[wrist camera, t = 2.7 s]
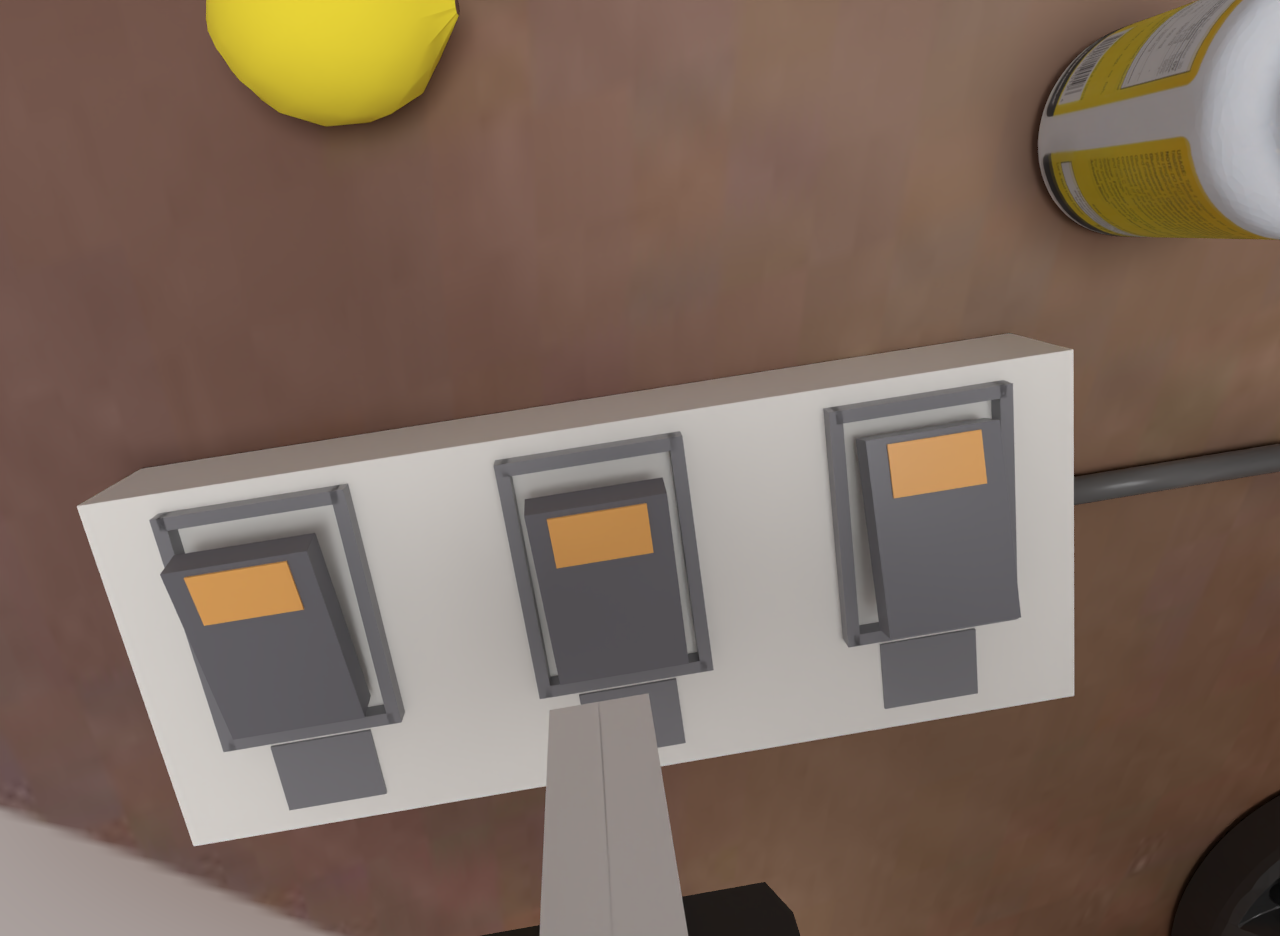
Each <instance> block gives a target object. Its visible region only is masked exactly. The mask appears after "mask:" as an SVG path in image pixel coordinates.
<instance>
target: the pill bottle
mask: <svg viewBox="0 0 1280 936" xmlns="http://www.w3.org/2000/svg"><path fill="white" fill-rule="evenodd" d="M1038 156H1039V164H1040V169H1041V173H1042V177H1043V180H1044V183H1045V185H1046V187H1047V189H1048V192H1049V193H1050V195H1051V197H1052V199H1053V200H1054V201H1055V203H1056V204H1057V205H1058V207H1059V208H1060V209H1061V210H1062V211H1063V212H1064V213H1065V214H1066V215H1067V216H1068V217H1069V218H1071V219H1072V220H1073V221H1075V222H1076V223H1078V224H1079V225H1081V226H1083V227H1085V228H1087V229H1089V230H1092V231H1095V232H1099V233H1102V234H1106V235H1113V236H1126V237H1175V238H1224V239H1272V240H1280V0H1197V1H1195V2H1192V3H1189V4H1187V5H1184V6H1181V7H1179V8H1176V9H1173V10H1170V11H1168V12H1165V13H1162V14H1159V15H1157V16H1154V17H1151V18H1148V19H1145V20H1142V21H1140V22H1137V23H1134V24H1131V25H1129V26H1126V27H1123V28H1121V29H1118V30H1116V31H1114V32H1112V33H1109V34H1108V35H1106V36H1104V37H1102V38H1101V39H1099V40H1097V41H1096V42H1095V43H1093V44H1092V45H1090V46H1089V47H1088V48H1086V49H1085V50H1084V51H1083V52H1082V53H1080V54H1079V55H1078V56H1077V57H1076V58H1075V59H1074V60H1073V61H1072V63H1071V64H1070V65H1069V66H1068V67H1067V68H1066V70H1065V71H1064V72H1063V74H1062V75H1061V76H1060V78H1059V80H1058V81H1057V83H1056V84H1055V86H1054V88H1053V90H1052V91H1051V93H1050V95H1049V98H1048V100H1047V103H1046V105H1045V108H1044V111H1043V115H1042V118H1041V123H1040V129H1039V136H1038Z"/></svg>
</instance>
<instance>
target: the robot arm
mask: <svg viewBox="0 0 1280 936" xmlns="http://www.w3.org/2000/svg"><path fill="white" fill-rule="evenodd" d="M482 936H800V933H799V930H798V927H797V924H796V920H795V917H794V914H793V912H792V911H791V910H790V909H789V908H788V907H787V905H786V904H785V903H784V902H783V901H782V900H781V899H780V898H779V897H778V896H777V895H776V894H775V892H774V891H773V890H772V889H771V888H770V887H769V886H768V885H767V884H766V883H765V882H763V883H757V884H751V885H746V886H740V887H735V888H729V889H723V890H718V891H712V892H707V893H701V894H695V895H690V896H684V897H682V894H681V888H680V882H679V876H678V870H677V864H676V858H675V851H674V845H673V839H672V833H671V827H670V821H669V815H668V809H667V803H666V796H665V790H664V784H663V778H662V772H661V766H660V760H659V754H658V748H657V741H656V735H655V729H654V723H653V717H652V711H651V705H650V699H649V693H647V694H641V695H635V696H630V697H624V698H618V699H612V700H606V701H600V702H594V703H589V704H583V705H577V706H571V707H565V708H559V709H553V710H549V733H548V755H547V778H546V801H545V823H544V846H543V869H542V891H541V914H540V925H538V926H533V927H527V928H521V929H516V930H510V931H505V932H499V933H493V934H488V935H482ZM1171 936H1280V796H1278V797H1276V798H1274V799H1273V800H1271V801H1269V802H1268V803H1266V804H1265V805H1263V806H1261V807H1260V808H1258V809H1257V810H1256V811H1254V812H1253V813H1251V814H1250V815H1249V816H1247V817H1246V818H1245V819H1244V820H1242V821H1241V822H1240V823H1239V824H1238V825H1236V826H1235V827H1234V828H1233V829H1232V830H1231V831H1230V832H1229V833H1228V834H1227V835H1226V836H1225V837H1224V838H1223V839H1221V840H1220V842H1219V843H1218V844H1217V845H1216V846H1215V847H1214V848H1213V849H1212V850H1211V852H1210V853H1209V854H1208V855H1207V857H1206V858H1205V859H1204V860H1203V862H1202V863H1201V865H1200V866H1199V868H1198V869H1197V870H1196V872H1195V874H1194V875H1193V877H1192V879H1191V880H1190V882H1189V884H1188V886H1187V888H1186V890H1185V892H1184V894H1183V896H1182V898H1181V901H1180V903H1179V906H1178V909H1177V912H1176V915H1175V919H1174V923H1173V927H1172V933H1171Z"/></svg>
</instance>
